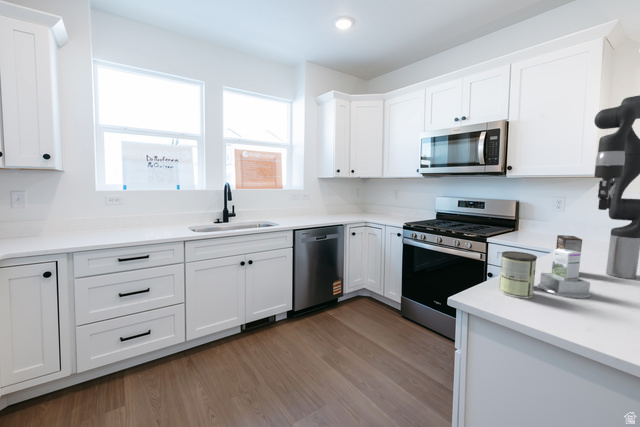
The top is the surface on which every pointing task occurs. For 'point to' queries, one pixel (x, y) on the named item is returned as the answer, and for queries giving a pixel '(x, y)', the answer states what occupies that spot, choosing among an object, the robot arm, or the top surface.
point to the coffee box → (569, 243)
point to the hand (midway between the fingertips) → (604, 209)
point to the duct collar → (564, 286)
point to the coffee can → (517, 274)
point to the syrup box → (566, 265)
